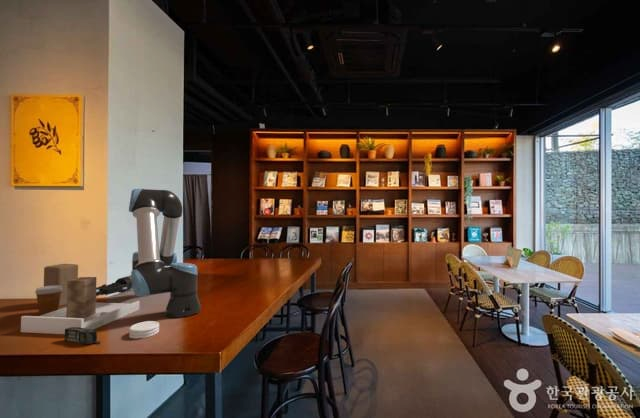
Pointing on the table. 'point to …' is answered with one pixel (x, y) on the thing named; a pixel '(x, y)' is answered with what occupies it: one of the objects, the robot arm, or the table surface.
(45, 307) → the disposable coffee cup
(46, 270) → the wooden block
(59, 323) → the board
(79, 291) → the walnut block
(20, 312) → the table surface
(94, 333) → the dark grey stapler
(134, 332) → the coaster
